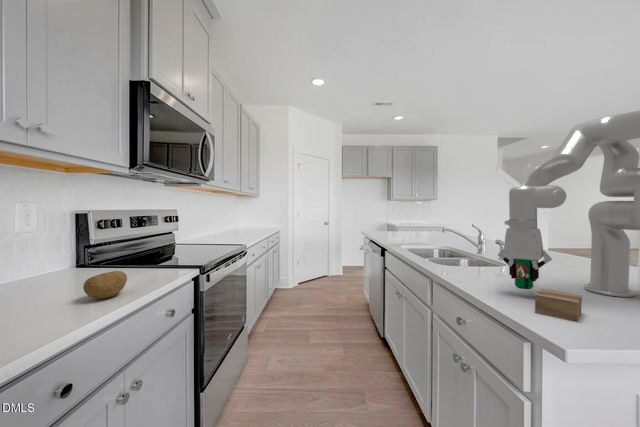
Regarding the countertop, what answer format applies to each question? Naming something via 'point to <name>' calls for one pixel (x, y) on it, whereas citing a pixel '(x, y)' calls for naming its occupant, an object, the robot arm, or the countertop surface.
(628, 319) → the countertop surface
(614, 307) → the countertop surface
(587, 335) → the countertop surface
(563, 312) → the walnut block
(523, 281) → the soda can
